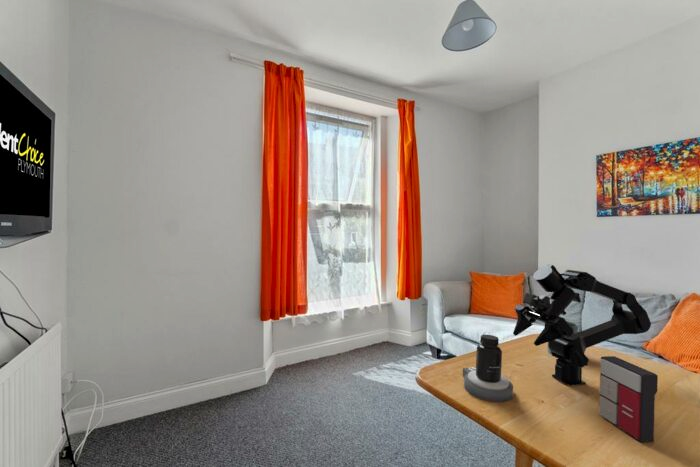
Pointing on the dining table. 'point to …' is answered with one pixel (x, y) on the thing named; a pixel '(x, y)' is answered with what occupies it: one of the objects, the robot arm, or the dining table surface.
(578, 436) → the dining table surface
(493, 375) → the supplement bottle
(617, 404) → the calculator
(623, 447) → the dining table surface
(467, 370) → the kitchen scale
